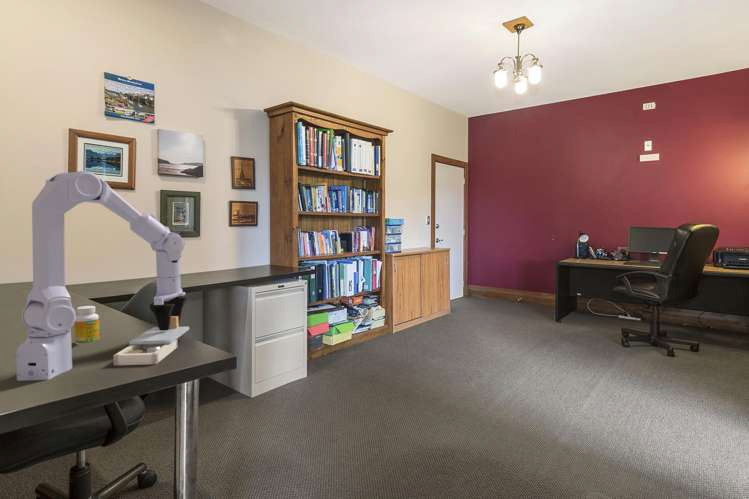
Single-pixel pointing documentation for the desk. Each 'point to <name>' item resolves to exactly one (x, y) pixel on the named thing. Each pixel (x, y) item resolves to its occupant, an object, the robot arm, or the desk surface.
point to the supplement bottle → (86, 325)
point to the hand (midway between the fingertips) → (169, 326)
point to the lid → (161, 334)
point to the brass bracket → (134, 352)
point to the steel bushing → (152, 349)
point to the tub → (144, 354)
